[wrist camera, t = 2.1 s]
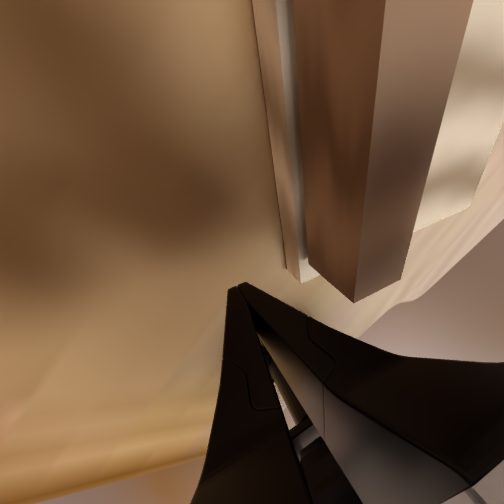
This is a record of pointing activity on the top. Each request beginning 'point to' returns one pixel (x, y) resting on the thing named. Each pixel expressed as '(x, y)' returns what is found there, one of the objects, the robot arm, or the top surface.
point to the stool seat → (449, 138)
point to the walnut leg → (370, 127)
